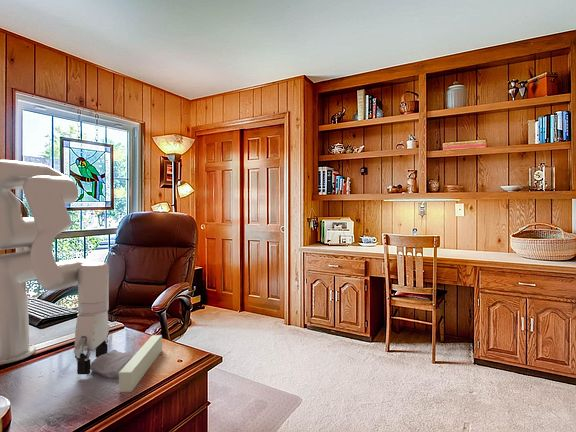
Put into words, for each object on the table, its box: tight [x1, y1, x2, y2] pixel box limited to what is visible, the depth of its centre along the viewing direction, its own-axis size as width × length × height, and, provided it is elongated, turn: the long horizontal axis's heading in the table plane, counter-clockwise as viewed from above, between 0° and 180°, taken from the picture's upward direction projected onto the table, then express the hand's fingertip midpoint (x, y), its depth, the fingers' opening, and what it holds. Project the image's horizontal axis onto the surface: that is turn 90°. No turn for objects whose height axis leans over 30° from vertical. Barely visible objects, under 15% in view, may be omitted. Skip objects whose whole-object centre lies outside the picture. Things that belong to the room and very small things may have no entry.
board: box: [118, 334, 163, 393], centre depth 99 cm, size 3×24×5 cm, turn 2°
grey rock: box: [90, 349, 137, 379], centre depth 99 cm, size 12×5×10 cm
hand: (93, 365), depth 99 cm, fingers open, 9 cm apart
